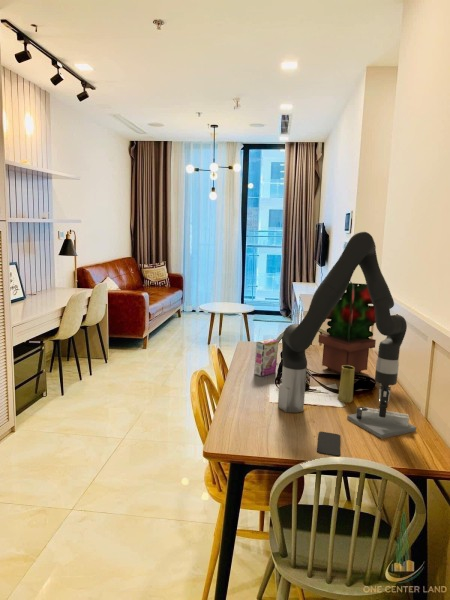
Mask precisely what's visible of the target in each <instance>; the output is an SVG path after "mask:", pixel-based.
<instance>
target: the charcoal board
mask: <svg viewBox="0 0 450 600" xmlns="http://www.w3.org/2000/svg"><path fill="white" fill-rule="evenodd" d="M379 410H380V408H379ZM346 420H348V421H350V422H351V421H352V423H353V424H355V425H356V424H357V426H358V427H360V428H362V429H363V428H364V430H365V429H366V430H365V431H367V430H368V431H369V432H368V431H367V432H368V433H370V432H371V433H370V434H372V433H373V434H374V435H373V434H372V435H373V436H375V435H376V436H375V437H377V436H378V437H380V438H383V439H387V438H392V437H396V436H400V435H405V434H409V433H415V432H417V426H415V425H414V424H411V423H410V422H409V423H408V428H406V427H400V426H394V425H389V424H383V423H377V422H372V421H366V420H360V419H358V418H356V413H352V414H348V415H347V417H346ZM378 437H377V438H378ZM386 437H387V438H386ZM380 438H379V439H380Z"/></svg>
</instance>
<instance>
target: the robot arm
mask: <svg viewBox="0 0 450 600" xmlns="http://www.w3.org/2000/svg"><path fill="white" fill-rule="evenodd" d="M376 249H377V247H376V242H375V239H374V238H373V236H372V235H371V234H370V233H369V232H366V231H359V232H356V233H354V234H353V235H352V236H351V237H350V239H349V240H348V242H347V244H346V246H345V247H344V250H343V251H342V253H341V254H340V256H339V258H338V259H337V261H336V262H335V263H334V265H332V268H331V269H330V270H329V272H328V273H327V274H326V276H325V277H324V279H323V280H322V281H321V282H320V285H319V286H318V287H317V288H316V290H315V292H314V294H313V296H312V299H311V302H310V304H309V308H308V310H307V312H306V314H305V316H304V317H303V318H302V320H301V321H300V322H299V324H298V323H292V324H289V325H288V326H287V327H286V328H285V329H284V331H283V335H282V346H281V347H282V348H281V349H282V350H281V357H282V370H281V371H282V372H281V373H282V375H281V383H279V385H278V396H277V397H278V399H277V408H279V409H280V410H282V411H283V412H285V413H295V414H296V413H301V412H303V411H304V407H305V406H304V405H305V394H306V382H307V381H306V380H307V371H308V369H307V368H308V360H307V355H306V350H307V349H309V347H311V345H312V343H313V341H314V339H315V338H316V336H317V334H318V332H319V331H320V329H321V327H322V325H323V323H324V321H325V322H326V320H327V319H326V318H327V317H328V316H329V314H330V313H331V311H332V310H333V308H334V307H335V306H336V304H337V303H338V302H339V300H341V297H342V296H343V294H344V293H345V292H346V289H347V287H348V285H349V283H350V281H351V279H352V276H353V274H354V272H355V271H356V269H357V267H358V266H359V268H360V269H361V272H362V274H363V277H364V280H365V284H367V288H368V291H369V294H370V297H371V300H372V303H373V304H372V306H374V309H375V321H376V323H375V326H376V329H377V331H378V332H379V333H380V334H381V335H382V336H386V337H385V339H384V340H381V341H380V342H379V344H378V351H377V360H376V363H375V364H376V365H375V374H374V381H375V382H376V383H377V384H380V385H379V386H378V400H379V403H378V405H379V406H378V408H379V409H380V411H379V416H380V417H384V418H385V417H386V411H387V408H388V405H389V401H390V395H391V386H395V385H396V384H397V382H398V373H399V363H400V362H399V361H400V360H399V358H400V351H401V347H402V346H401V345H402V344H403V342H404V340H405V339H404V338H405V336H406V333H407V327H408V325H407V321H406V319H405V317H404V316H402V315H400V314H391V310H390V309H393V308H394V306H395V302H394V299H393V296H392V294H391V291H390V288H389V286H388V284H387V281H386V279H385V277H384V275H383V273H382V271H381V268H380V265H379V261H378V257H377V250H376Z"/></svg>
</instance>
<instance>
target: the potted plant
mask: <svg viewBox="0 0 450 600" xmlns="http://www.w3.org/2000/svg"><path fill="white" fill-rule="evenodd" d="M326 320H328V321H327V323H326V325H327V326H328V328H326V329H325V331H326V333H323V334H319V335H318V343H319V344H322V345H323V350H322V359H321V360H322V361H321V366H323V367H325V368H326V369H327V371H330V372H333V373H335V372H336V374H338V373H339V374H338V375H341V371H342V366H343V365H349V366H353V367H354V368H355V373H354V375H358V374H361V373H362V371H367V370H368V363H369V362H368V361H369V353H370V349H375V348H376V344H377V343H376V341H377V339H374V338H372V337H373V336H374V332H373V331H370V329H371V327H373V326H375V324H376V321H375V309H374V305H373V303H372V300H371V297H370V294H369V291H368V288H367V284H366V283H355V282H352V281H351V280H350V282H349V285H348V287H347V289H346V291H345V293H344V294H343V296H342V297H341V299H340V300H339V302H338V303H337V304H336V306H335V307H334V308H333V310H332V311H331V313H330V314H329V316H328V317H327V318H326ZM326 320H325V321H324V322H326ZM324 322H323V323H324Z"/></svg>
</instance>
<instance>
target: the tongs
mask: <svg viewBox="0 0 450 600" xmlns="http://www.w3.org/2000/svg"><path fill="white" fill-rule="evenodd" d="M379 409H380V408H379ZM379 409H378V408H371V407H367V406H357V407H356V411H355V412H356V413H355V414H356V418H358V419H360V420H366V421H372V422H377V423H383V424H389V425H394V426H400V427H406V428H408V423H409V424H410V422H409V421H410V416H409V414H408V413H403V412H402V413H401V412H396V411H391V410H386V417H385V418H384V417H380V416H379V411H380V410H379Z"/></svg>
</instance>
